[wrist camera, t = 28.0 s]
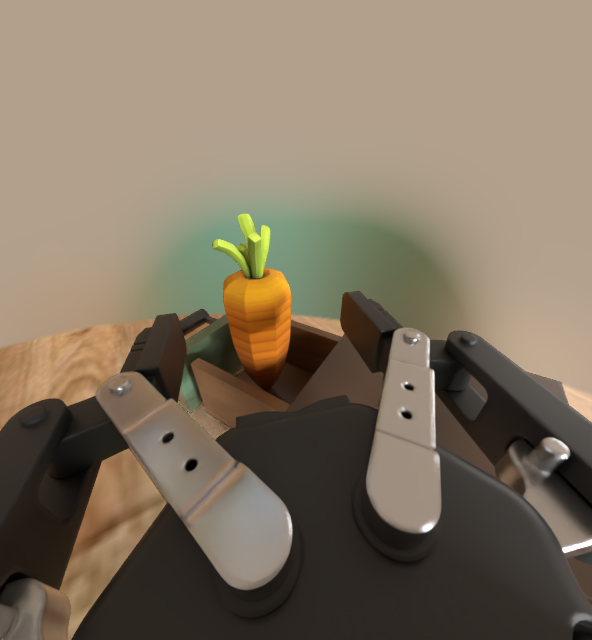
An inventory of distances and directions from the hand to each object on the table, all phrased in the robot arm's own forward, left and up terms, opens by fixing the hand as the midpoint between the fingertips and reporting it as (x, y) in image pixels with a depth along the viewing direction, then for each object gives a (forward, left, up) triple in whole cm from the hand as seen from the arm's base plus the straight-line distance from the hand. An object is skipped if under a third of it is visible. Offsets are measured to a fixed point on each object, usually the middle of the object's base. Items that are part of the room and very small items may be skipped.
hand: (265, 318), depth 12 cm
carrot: (-1, +6, -12) cm, 13 cm away
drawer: (-3, +7, -13) cm, 15 cm away
